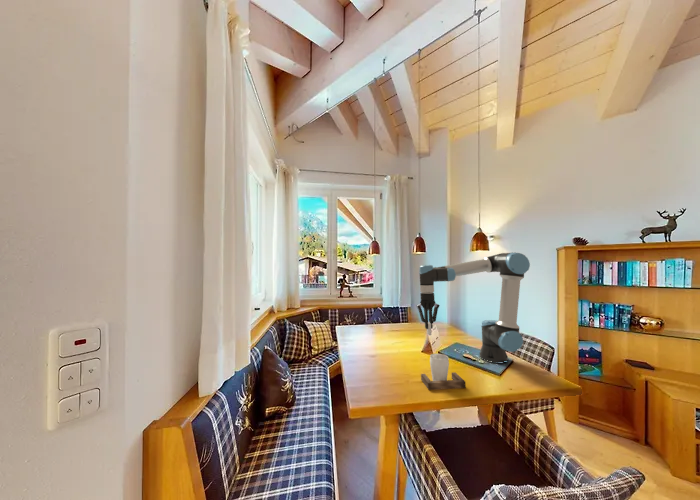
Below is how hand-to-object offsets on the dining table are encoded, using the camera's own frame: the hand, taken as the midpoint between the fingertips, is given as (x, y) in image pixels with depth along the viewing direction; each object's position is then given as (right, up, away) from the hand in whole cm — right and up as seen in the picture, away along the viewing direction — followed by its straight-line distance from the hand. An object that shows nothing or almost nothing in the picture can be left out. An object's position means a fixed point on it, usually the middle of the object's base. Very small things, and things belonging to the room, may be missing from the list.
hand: (429, 334), depth 144 cm
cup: (0, -19, -15) cm, 24 cm away
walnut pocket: (+1, -18, -19) cm, 26 cm away
